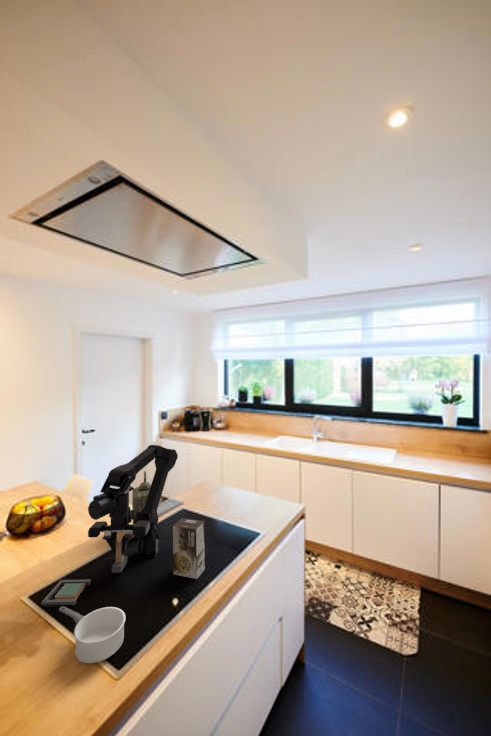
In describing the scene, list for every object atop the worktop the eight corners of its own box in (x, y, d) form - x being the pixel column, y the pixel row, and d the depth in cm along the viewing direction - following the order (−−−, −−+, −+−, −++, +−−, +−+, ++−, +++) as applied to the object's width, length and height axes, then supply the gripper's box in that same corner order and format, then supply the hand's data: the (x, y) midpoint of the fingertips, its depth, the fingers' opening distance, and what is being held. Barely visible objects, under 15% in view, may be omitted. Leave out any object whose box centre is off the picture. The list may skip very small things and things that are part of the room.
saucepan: (79, 613, 87) (80, 593, 88) (135, 637, 79) (135, 614, 80) (38, 646, 77) (38, 622, 77) (97, 676, 69) (97, 650, 69)
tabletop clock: (156, 536, 131) (156, 475, 131) (133, 540, 127) (133, 477, 128) (153, 521, 144) (153, 466, 145) (132, 525, 141) (132, 468, 142)
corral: (90, 583, 100) (90, 579, 100) (74, 605, 90) (74, 601, 91) (60, 583, 100) (60, 580, 100) (41, 606, 90) (41, 602, 90)
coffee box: (205, 568, 108) (205, 520, 108) (196, 580, 102) (196, 529, 102) (182, 563, 111) (182, 517, 111) (172, 574, 105) (172, 525, 105)
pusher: (127, 561, 108) (127, 538, 108) (120, 572, 102) (121, 547, 102) (118, 561, 108) (118, 538, 108) (111, 572, 102) (111, 547, 102)
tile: (84, 589, 98) (84, 582, 99) (75, 602, 92) (75, 595, 93) (65, 589, 98) (65, 583, 98) (54, 603, 92) (54, 596, 92)
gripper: (154, 497, 114) (154, 541, 113) (102, 498, 113) (101, 542, 113) (145, 510, 103) (145, 559, 102) (87, 511, 102) (86, 560, 102)
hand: (119, 554), depth 105 cm, fingers closed on pusher, 2 cm apart
